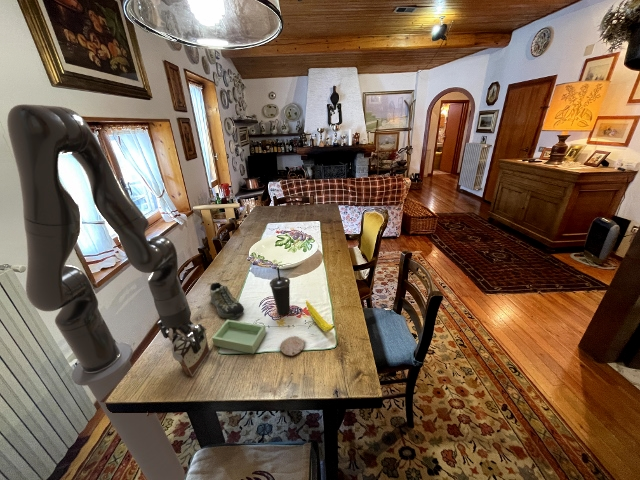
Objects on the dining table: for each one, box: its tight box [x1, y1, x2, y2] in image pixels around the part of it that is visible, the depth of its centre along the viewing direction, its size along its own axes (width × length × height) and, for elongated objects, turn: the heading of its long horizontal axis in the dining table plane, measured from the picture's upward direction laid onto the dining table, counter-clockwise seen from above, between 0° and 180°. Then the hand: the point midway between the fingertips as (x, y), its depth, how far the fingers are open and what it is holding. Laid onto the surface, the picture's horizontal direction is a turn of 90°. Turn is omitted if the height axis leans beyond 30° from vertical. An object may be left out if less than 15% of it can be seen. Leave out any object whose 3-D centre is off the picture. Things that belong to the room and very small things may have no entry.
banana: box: [305, 300, 336, 332], centre depth 92 cm, size 3×19×6 cm, turn 32°
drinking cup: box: [269, 266, 291, 316], centre depth 96 cm, size 8×8×20 cm
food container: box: [171, 325, 210, 378], centre depth 78 cm, size 12×6×10 cm, turn 171°
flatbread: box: [279, 335, 305, 357], centre depth 84 cm, size 8×8×1 cm
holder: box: [211, 319, 267, 355], centre depth 87 cm, size 15×9×4 cm, turn 75°
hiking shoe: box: [209, 282, 245, 320], centre depth 102 cm, size 8×21×9 cm, turn 47°
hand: (188, 349), depth 78 cm, fingers closed on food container, 6 cm apart
